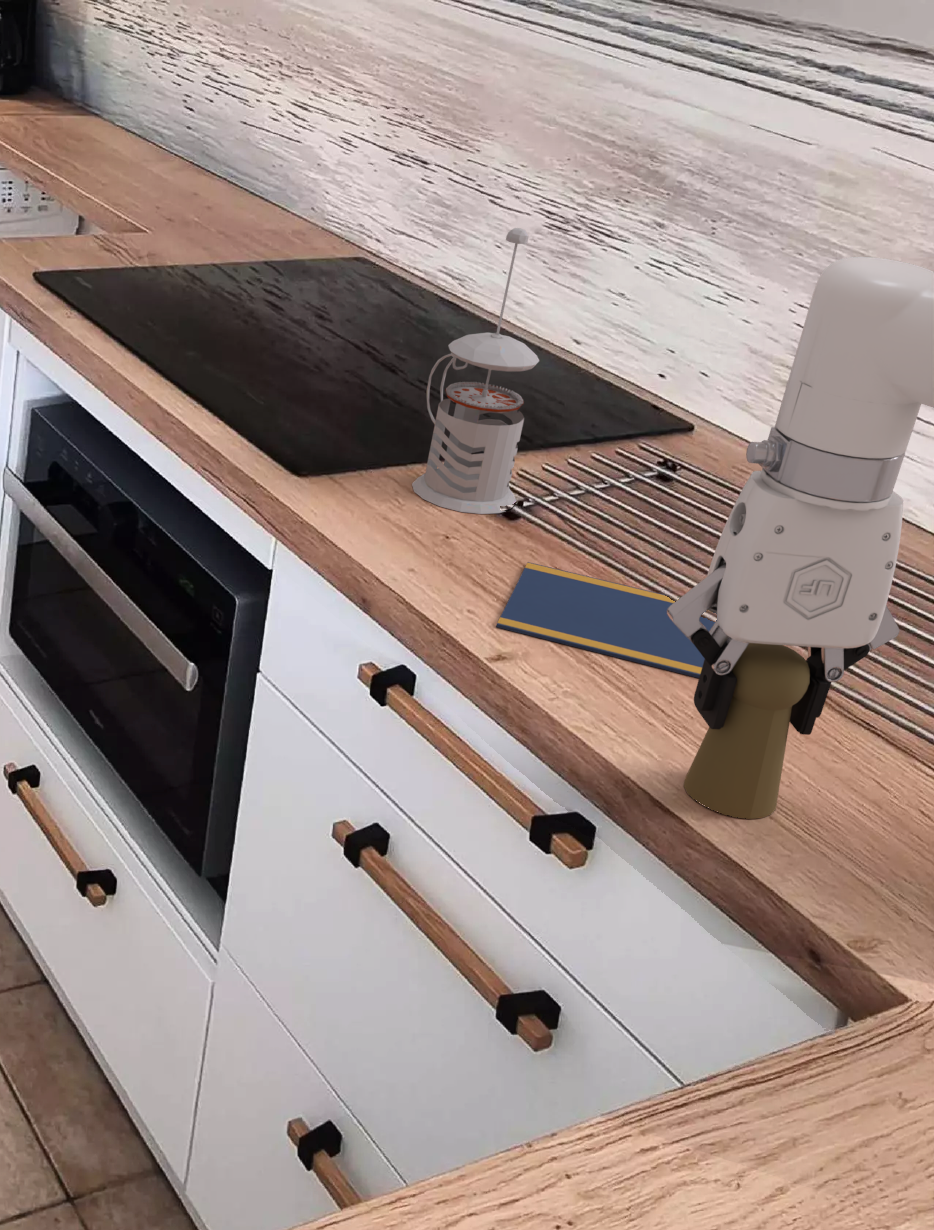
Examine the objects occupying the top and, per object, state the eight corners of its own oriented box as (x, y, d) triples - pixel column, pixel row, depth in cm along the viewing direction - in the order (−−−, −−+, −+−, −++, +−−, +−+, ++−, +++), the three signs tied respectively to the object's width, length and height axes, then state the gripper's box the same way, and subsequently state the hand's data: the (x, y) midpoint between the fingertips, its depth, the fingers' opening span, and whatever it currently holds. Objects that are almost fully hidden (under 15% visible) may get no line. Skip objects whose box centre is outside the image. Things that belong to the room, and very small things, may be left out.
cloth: (744, 616, 142) (745, 613, 142) (731, 686, 131) (732, 682, 131) (526, 564, 148) (527, 561, 148) (495, 627, 137) (496, 623, 136)
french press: (458, 519, 156) (515, 245, 144) (378, 473, 165) (426, 211, 153) (539, 506, 160) (600, 240, 149) (457, 462, 169) (509, 207, 158)
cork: (679, 764, 119) (719, 623, 114) (769, 779, 119) (814, 638, 113) (688, 809, 114) (731, 663, 109) (782, 825, 113) (831, 679, 108)
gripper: (717, 479, 102) (644, 743, 110) (996, 498, 102) (903, 758, 111) (674, 434, 108) (608, 687, 117) (937, 452, 109) (853, 701, 118)
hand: (752, 719), depth 114 cm, fingers closed on cork, 5 cm apart
